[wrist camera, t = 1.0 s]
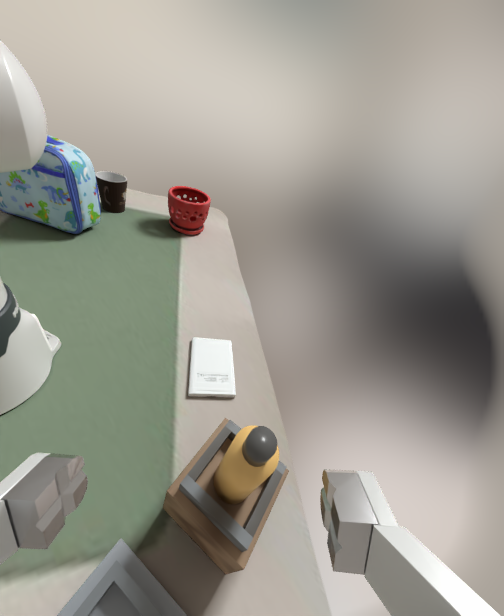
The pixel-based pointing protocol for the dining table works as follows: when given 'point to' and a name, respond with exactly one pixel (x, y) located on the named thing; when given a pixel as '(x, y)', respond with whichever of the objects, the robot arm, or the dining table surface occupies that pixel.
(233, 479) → the yellow bottle
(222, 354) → the external hard drive
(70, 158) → the lunch box
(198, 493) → the walnut stand
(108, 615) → the low socket
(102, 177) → the coffee mug
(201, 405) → the dining table surface
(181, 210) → the plant pot
